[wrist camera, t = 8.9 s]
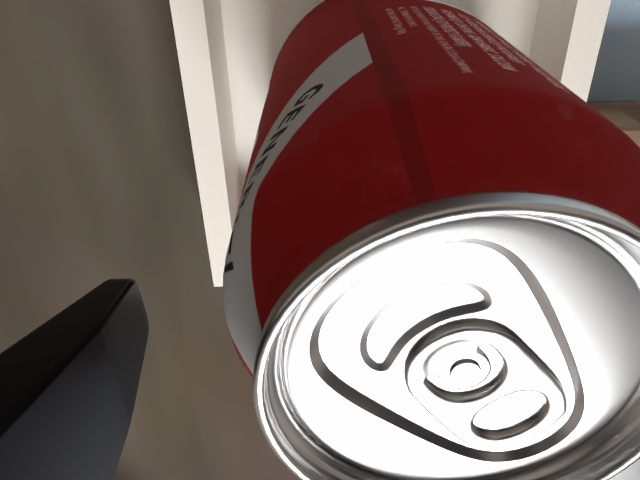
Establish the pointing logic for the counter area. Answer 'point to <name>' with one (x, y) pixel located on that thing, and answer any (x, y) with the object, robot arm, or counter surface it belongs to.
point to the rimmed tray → (260, 56)
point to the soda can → (435, 257)
